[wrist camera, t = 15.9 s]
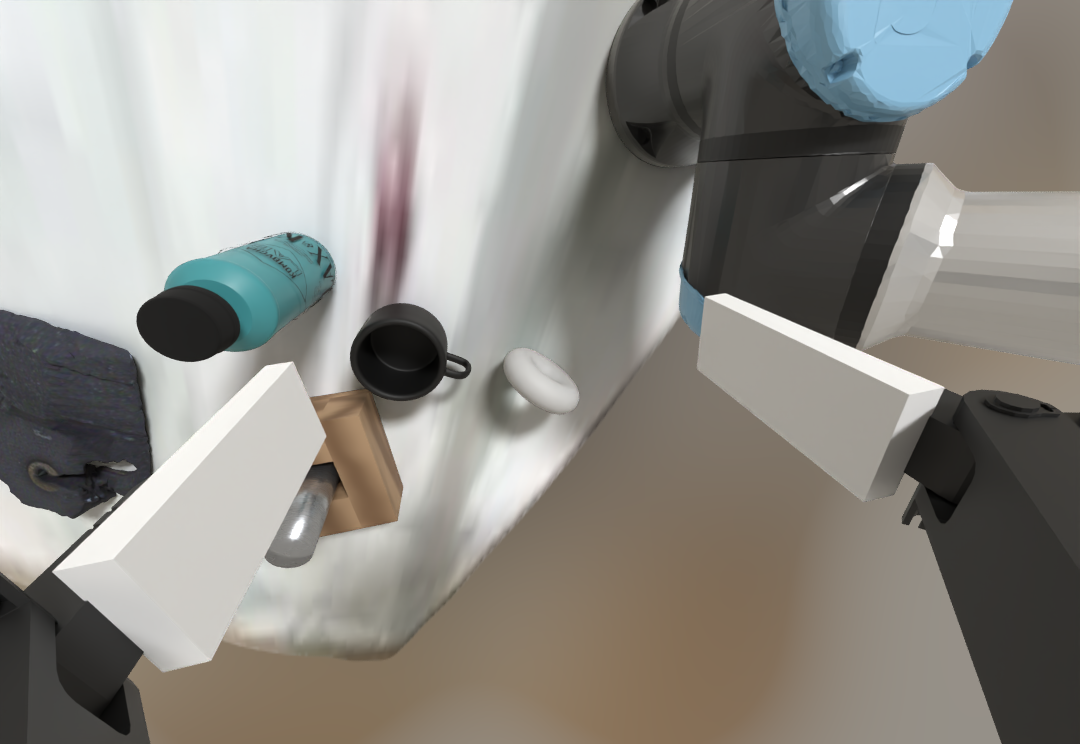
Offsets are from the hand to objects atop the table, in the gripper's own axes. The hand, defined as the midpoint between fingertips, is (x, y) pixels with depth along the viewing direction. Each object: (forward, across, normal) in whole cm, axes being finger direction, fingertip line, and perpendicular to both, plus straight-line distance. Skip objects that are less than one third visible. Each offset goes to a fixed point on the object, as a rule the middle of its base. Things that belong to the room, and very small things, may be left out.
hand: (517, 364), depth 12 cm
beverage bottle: (+32, -17, 0) cm, 36 cm away
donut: (+32, +4, -16) cm, 36 cm away
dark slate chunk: (+32, -45, -13) cm, 57 cm away
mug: (+32, -8, -10) cm, 35 cm away
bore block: (+31, -23, -23) cm, 45 cm away
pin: (+30, -23, -23) cm, 45 cm away
